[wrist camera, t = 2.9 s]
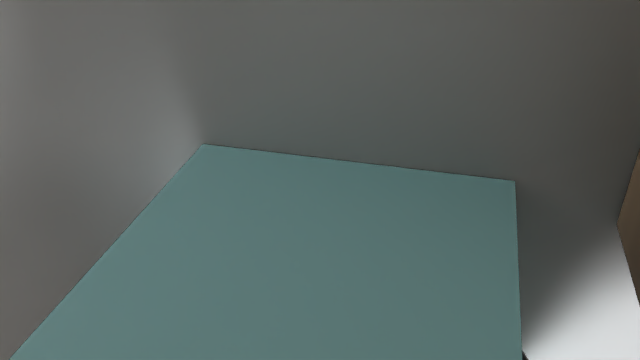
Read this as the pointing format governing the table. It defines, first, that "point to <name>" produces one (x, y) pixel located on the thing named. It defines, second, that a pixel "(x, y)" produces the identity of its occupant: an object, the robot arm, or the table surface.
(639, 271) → the base
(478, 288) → the block
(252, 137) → the table surface
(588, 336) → the table surface
